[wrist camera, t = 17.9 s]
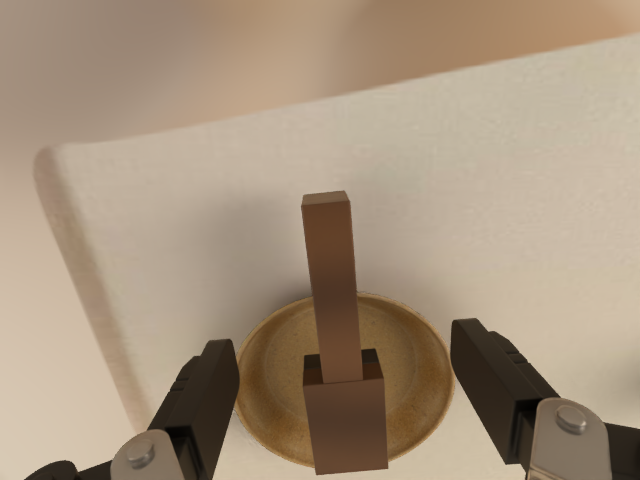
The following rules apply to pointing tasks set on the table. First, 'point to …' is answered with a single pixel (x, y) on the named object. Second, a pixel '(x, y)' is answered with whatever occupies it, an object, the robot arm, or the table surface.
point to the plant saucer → (375, 332)
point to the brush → (340, 349)
